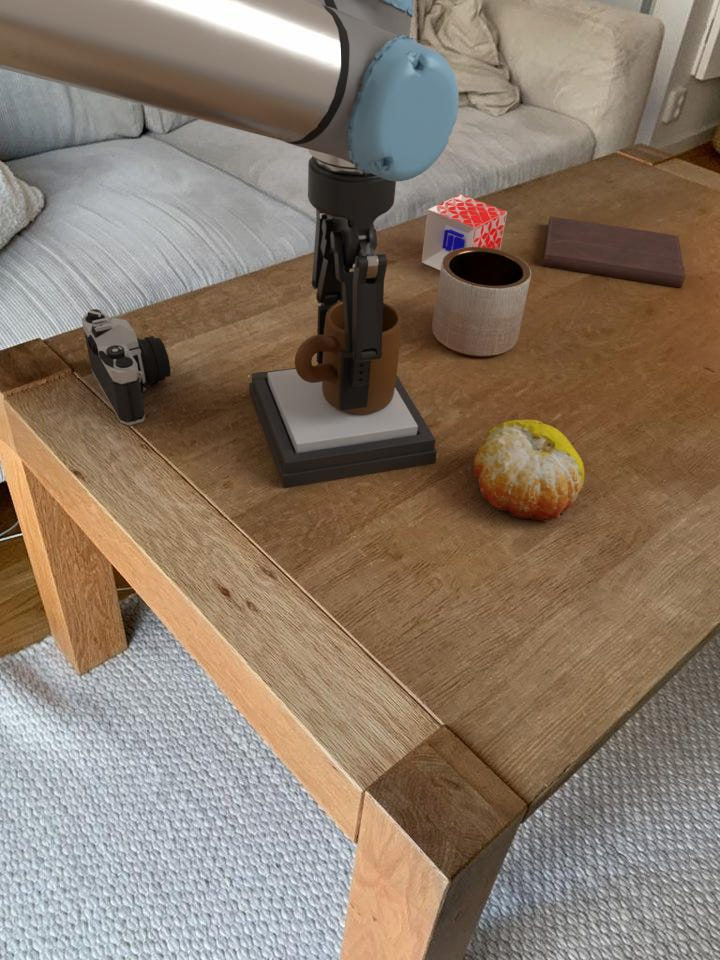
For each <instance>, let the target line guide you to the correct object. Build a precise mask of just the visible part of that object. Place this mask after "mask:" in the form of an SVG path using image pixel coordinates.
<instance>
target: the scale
mask: <svg viewBox="0 0 720 960" xmlns="http://www.w3.org/2000/svg"><path fill="white" fill-rule="evenodd" d="M291 369H296V367H292V368H291V367H290V368H285V369H276V370H269V371H260V372H253V373H251V382H249V383H248V389H249V397H250V399H251V403H252V406H253V408H254V411H255V413H256V416H257V419H258V423H259V424H260V427H261V430H262V433H263V435H264V438H265V441H266V443H267V446H268V448H269V449H268V450H269V452H270V455H271V457H272V458H271V459H272V461H273V463H274V465H275V466H274V467H275V468H276V471H277V474H278V476H279V477H278V478H279V479H280V482H281V485H282V488H283V489H286V488H293V487H299V486H305V485H312V484H316V483H325V482H330V481H336V480H342V479H347V478H354V477H360V476H366V475H371V474H378V473H383V472H389V471H396V470H402V469H408V468H413V467H414V468H415V467H419V466H427V465H432V464H436V461H437V455H438V451H437V449H436V446H435V445H436V438H435V436H434V435H433V432H432V431H431V429H430V427H429V426H428V424H427V423H426V421H425V420H424V418H423V416H422V415H421V413H420V411H419V409H418V408H417V406H416V405H415V403H414V402H413V400H412V398H411V396H410V395H409V393H408V392H407V390H406V387H405V386H404V384H403V382H401V380H400V378H399V377H398V375H397V374H396V382H395V388H396V390H397V392H398V393H399V395H400V397H401V398H402V400H403V402H404V403H405V405H406V407H407V408H408V410H409V412H410V414H411V415H412V417H413V419H414V420H415V422H416V424H417V425H418V428H417V435H412V436H406V437H399V438H393V439H386V440H380V441H373V442H367V443H360V444H354V445H347V446H341V447H334V448H328V449H321V450H315V451H308V452H302V453H295V451H294V449H293V446H292V444H291V441H290V439H289V436H288V433H287V431H286V428H285V426H284V423H283V421H282V418H281V416H280V413H279V411H278V408H277V406H276V403H275V401H274V398H273V396H272V393H271V391H270V388H269V386H268V372H275V371H283V370H291Z"/></svg>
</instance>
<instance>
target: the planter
mask: <svg viewBox="0 0 720 960" xmlns="http://www.w3.org/2000/svg"><path fill="white" fill-rule="evenodd" d="M531 277H532V270H531V268H530V266H529V265H528V263H527V262H526V261H525V260H523V259H522V258H521V257H519V256H517V255H515V254H513V253H511V252H508V251H506V250H502V249H500V250H498V249H494V248H487V247H466V248H461V249H457V250H454V251H451V252H450V253H448V254H447V255H445V256H444V258H443V259H442V263H441V270H439V277H438V278H439V279H438V285H437V291H436V297H435V303H434V305H435V306H434V309H433V316H432V322H431V323H432V324H431V331H432V334H433V336H434V338H435V339H436V340H437V341H438V342H439V343H440V344H441V345H443V346H444V347H445V348H446V349H448V350H451V351H453V352H454V353H456V354H460V355H464V356H467V357H476V358H488V357H496V356H498V355H499V356H500V355H502V354H505V353H507V352H509V351H510V350H512V349H513V348H514V347H515V346H516V345H517V342H518V340H519V337H520V333H521V327H522V322H523V319H524V318H523V316H524V312H525V305H526V302H527V296H528V292H529V287H530V283H531Z"/></svg>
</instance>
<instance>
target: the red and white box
mask: <svg viewBox="0 0 720 960" xmlns="http://www.w3.org/2000/svg"><path fill="white" fill-rule="evenodd" d="M507 214H508V211H507V210H504V209H501V208H499V207H496V206H494V205H491V204H489V203H485V202H483V201H480V200H478V199H474V198H472V197H469V196H467V195H465V194H462V193H460V194H458V195H456V196H454V197H452V198H450V199H447V200H445V201H443V202H441V203H438V204H436V205H434V206H432V207H430V208H428V209H427V212H426V220H425V231H424V236H423V237H424V238H423V244H422V245H423V247H422V253H421V254H422V255H421V263H422V264H424V265H426V266H429V267H431V268H434V269H436V270H438V271H440V270H441V263H442V259H443V258H444V256H445V255H447V254H448V253H450V252H451V251H454V250H457V249H461V248H466V247H487V248H494V249H498V250H501V247H502V241H503V235H504V230H505V225H506V220H507Z"/></svg>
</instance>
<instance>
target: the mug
mask: <svg viewBox="0 0 720 960" xmlns="http://www.w3.org/2000/svg"><path fill="white" fill-rule="evenodd" d="M401 337H402V317H401V314H400V313H399V311H398V310H396V308H394V307H393V306H392V305H390V304H388V303H386V302H383V327H382V356H381V359H377V360H371V365H370V377H369V389H368V401H367V407H363V408H356V409H349V410H342V411H343V412H346V413H351V414H370V413H374V412H378V411H380V410H382V409H384V408H385V407H386V406H387V405H388V404H389V403H390V402H391V400H392V398H393V395H394V390H395V382H396V375H397V373H398V366H399V357H400V348H401V340H402V339H401ZM342 350H346V343H345V328H344V313H343V301H338V302H337V303H335V304H334V305H332V306H331V307H330V308H329V309H328V311H327V313H326V319H325V326H324V335H317V334H315V335H312V336H310V337H308V338H306V339H305V340H304V341H302V343H301V344H300V345H299V347H298V348H297V351H296V353H295V356H294V368H296V371H297V373H298V375H299V376H300V377H301V378H302V379H303V380H304V381H307V382H310V383H317V382H321V381H322V391H323V395H324V397H325V399H326V400H327V402H328V403H329V404H330V405H331V406H333V407H334V408H336V409H338V410H340V408H339V392H340V374H341V359H340V357H339V354H338V351H342ZM319 351H321V352H323V363H322V364H318V363H317V364H315V365H313V363H312V361H313V360H312V359H313V357H314V356H315V355H316V354H317V352H319ZM340 411H341V410H340Z"/></svg>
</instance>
